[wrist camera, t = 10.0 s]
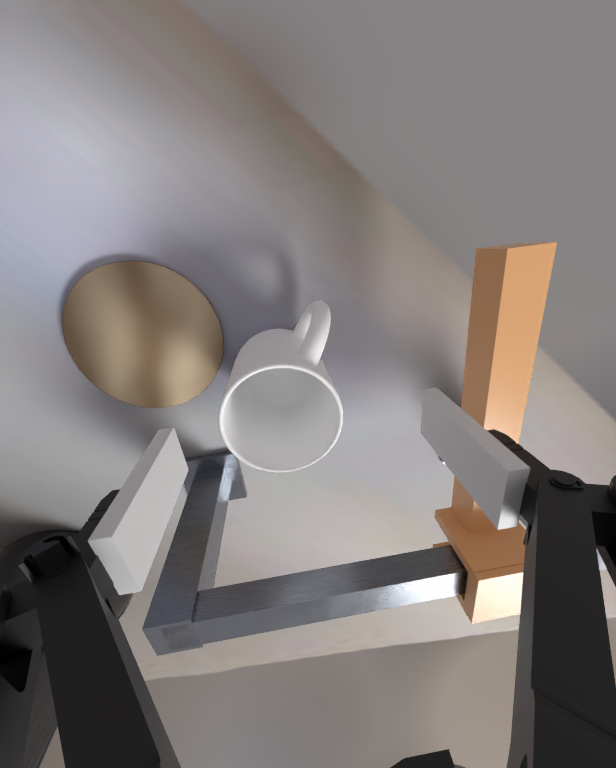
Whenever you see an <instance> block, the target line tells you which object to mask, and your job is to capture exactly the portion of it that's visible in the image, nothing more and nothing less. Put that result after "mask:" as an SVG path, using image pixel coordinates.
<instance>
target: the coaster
mask: <svg viewBox="0 0 616 768" xmlns="http://www.w3.org/2000/svg"><path fill="white" fill-rule="evenodd" d="M62 324H63V334H64V338H65V342H66V345H67V348H68V350H69V353H70V355H71V357H72V359H73V360H74V362H75V364H76V365H77V366H78V368H79V369H80V371H81V372H82V373H83V374H84V375H85V376H86V377H87V378H88V379H89V380H90V381H91V382H92V383H93V384H94V385H95V386H97V387H98V388H99V389H101V390H102V391H103V392H105V393H107V394H108V395H110V396H112V397H114V398H116V399H118V400H120V401H123V402H126V403H129V404H132V405H137V406H141V407H149V408H162V407H170V406H175V405H179V404H181V403H184V402H187V401H189V400H191V399H193V398H194V397H196V396H197V395H199V394H200V393H201V392H202V391H204V390H205V389H206V388H207V387H208V385H209V384H210V383H211V382H212V380H213V379H214V377H215V375H216V373H217V371H218V369H219V366H220V364H221V360H222V356H223V348H224V347H223V334H222V329H221V325H220V322H219V319H218V317H217V315H216V312H215V310H214V309H213V307H212V305H211V304H210V302H209V301H208V300H207V298H206V297H205V296H204V294H203V293H202V292H201V291H200V290H199V289H198V288H197V287H196V286H195V285H194V284H192V283H191V282H190V281H189V280H187V279H186V278H184V277H183V276H181V275H180V274H178V273H176V272H174V271H172V270H170V269H168V268H166V267H163V266H160V265H157V264H153V263H148V262H142V261H122V262H115V263H110V264H106V265H103V266H101V267H98V268H96V269H94V270H92V271H91V272H89V273H87V274H86V275H85V276H84V277H82V278H81V279H80V280H79V281H78V282H77V284H76V285H75V286H74V287H73V289H72V290H71V292H70V294H69V295H68V298H67V300H66V303H65V307H64V311H63V321H62Z"/></svg>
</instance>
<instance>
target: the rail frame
mask: <svg viewBox="0 0 616 768" xmlns="http://www.w3.org/2000/svg"><path fill="white" fill-rule="evenodd" d="M185 460H186V463H187V466H188V469H189V470H188V473H187V475H186V478H185V480H184V483H185V486H186V488H187V491H188V496H187V499H186V502H185V505H184V508H183V511H182V514H181V517H180V520H179V523H178V526H177V529H176V532H175V535H174V537H173V540H172V543H171V546H170V549H169V552H168V555H167V558H166V561H165V564H164V567H163V570H162V573H161V576H160V578H159V581H158V584H157V587H156V590H155V593H154V596H153V599H152V602H151V605H150V608H149V611H148V614H147V616H146V619H145V622H144V625H143V628H142V630H143V632H144V633H145V635H146V637H147V638H148V640H149V642H150V644H151V645H152V647H153V649H154V651H155V652H156V654H157V656H158V655H164V654H169V653H174V652H179V651H184V650H190V649H195V648H200V647H203V644H206V643H212V642H217V641H222V640H227V639H232V638H237V637H243V636H248V635H253V634H258V633H263V632H269V631H274V630H279V629H284V628H289V627H295V626H300V625H305V624H310V623H315V622H321V621H326V620H331V619H336V618H341V617H347V616H352V615H357V614H362V613H367V612H373V611H378V610H383V609H388V608H393V607H399V606H404V605H409V604H414V603H419V602H425V601H430V600H435V599H440V598H445V597H451V596H456V595H461V594H465V592H466V585H467V578H468V572H467V570H466V568H465V567H464V565H463V563H462V562H461V560H460V558H459V557H458V555H457V554H456V552H455V550H454V549H453V547H452V545H447V546H441V547H436V548H430V549H425V550H419V551H414V552H409V553H403V554H398V555H392V556H387V557H381V558H376V559H370V560H365V561H359V562H354V563H349V564H343V565H338V566H332V567H327V568H321V569H316V570H310V571H305V572H300V573H294V574H289V575H283V576H278V577H272V578H267V579H261V580H256V581H251V582H245V583H240V584H234V585H229V586H223V587H218V588H213V586H214V580H215V574H216V569H217V563H218V557H219V551H220V546H221V540H222V534H223V528H224V523H225V517H226V511H227V505H228V500H233V499H239V498H245V497H247V492H246V488H245V484H244V480H243V476H242V473H241V469H240V465H239V461H238V458H237V457H235V456H234V455H233V454H232V453H231V451H229V452H223V453H217V454H211V455H205V456H198V457H192V458H186V459H185ZM441 461H442V463H443V464H445V463H444V462H443V460H442V459H441ZM519 519H520V520H521V521H522V523H523V524H524V525H525V526H526V527H527V525H528V522H527V521H526V520H525V519H524V518H523V517H522V516H521V515H520V517H519ZM596 549H597V548H596ZM597 556H598V563H599V570H604V569H607V568H606V566H605V564H604V562H603V560H602V558H601V556H600V554H599V552H598V550H597Z"/></svg>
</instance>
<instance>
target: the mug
mask: <svg viewBox="0 0 616 768" xmlns="http://www.w3.org/2000/svg"><path fill="white" fill-rule="evenodd" d="M330 322H331V314H330V308H329V306H328V305H327V303H326V302H324V301H322V300H315V301H313V302H312V303H310V304H309V305H308V306H307V308H306V309H305V311H304V312H303V314H302V316H301V317H300V319H299V321H298V323H297V325H296V327H295V329H294V331H292V330H288V329H269V330H265V331H262V332H260V333H258V334H256V335H254V336H253V337H251V338H250V339H249V340H248V341H247V342H246V343H245V344H244V345H243V346H242V348H241V349H240V351H239V353H238V355H237V357H236V360H235V362H234V365H233V368H232V371H231V374H230V377H229V380H228V383H227V386H226V390H225V393H224V396H223V399H222V402H221V405H220V408H219V414H218V424H219V430H220V433H221V436H222V439H223V441H224V443H225V444H226V446H227V448H228V449H229V450H230V451H231V453H232V454H233V455H234V456H235V457H237V458H238V459H239V460H240V461H242V462H243V463H245V464H247V465H249V466H251V467H253V468H256V469H259V470H262V471H268V472H279V473H280V472H291V471H296V470H299V469H303V468H305V467H308V466H310V465H312V464H314V463H315V462H317V461H318V460H320V459H321V458H322V457H324V456H325V455H326V454H327V453H328V452H329V451H330V450H331V448H332V447H333V446H334V444H335V443H336V441H337V439H338V437H339V434H340V432H341V428H342V424H343V409H342V404H341V401H340V398H339V396H338V394H337V391H336V389H335V387H334V385H333V383H332V380H331V378H330V376H329V374H328V372H327V370H326V367H325V365H324V363H323V361H322V359H321V355H322V352H323V350H324V347H325V344H326V341H327V337H328V333H329V329H330Z"/></svg>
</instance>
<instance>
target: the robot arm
mask: <svg viewBox="0 0 616 768" xmlns="http://www.w3.org/2000/svg"><path fill="white" fill-rule="evenodd" d="M421 434H422V435H423V436H424V438H425V439H426V440H427V441H428V443H429V444H430V445H431V446H432V448H433V449H434V450H435V451H436V453H437V454H438V455H439V457H440V458H441V459H442V460H443V462H444V463H445V464H446V465H447V467H448V468H449V469H450V470H451V472H452V473H453V474H454V475H455V477H456V478H457V479H458V481H459V482H460V483H461V484H462V486H463V487H464V488H465V489H466V491H467V492H468V493H469V494H470V496H471V497H472V498H473V499H474V501H475V502H476V503H477V505H478V506H479V507H480V508H481V510H482V511H483V512H484V513H485V515H486V516H487V517H488V518H489V520H490V521H491V522H492V524H493V525H494V526H495V527H496V529H497V530H500V529H506V528H512V527H517V526H518V521H519V517H520V515H521V516H522V517H523V518H524V519H525V520H526V521H527V522H528V525H527V529H526V534H525V538H524V542H523V544H524V545H525V556H524V570H523V583H522V597H521V610H520V624H519V639H518V651H517V666H516V678H515V693H514V705H513V720H512V732H511V744H510V751H509V757H508V763H507V768H616V686H615V679H614V671H613V664H612V657H611V650H610V644H609V643H610V642H609V635H608V628H607V621H606V614H605V606H604V599H603V592H602V585H601V577H600V570H599V563H598V556H597V550H598V552H599V554H600V556H601V558H602V560H603V562H604V564H605V566H606V568H607V570H608V572H609V574H610V576H611V578H612V580H613V582H614V584H615V586H616V476H614V477H613V478H612V480H611V483H610V485H596V484H585V483H584V482H583V481H582V480H581V479H580V478H578V477H576V476H574V475H572V474H570V473H567V472H563V471H558V470H550V469H549V468H548V467H546V466H545V465H544V464H543V463H541V462H540V461H539V460H538V459H536V458H535V457H534V456H533V455H531V454H530V453H529V452H528V451H526V450H524V449H523V447H522V446H520V445H519V444H516V442H515V441H514V440H513V439H512V438H510V437H509V436H508V435H506V434H504V433H502V432H500V431H498V430H495V429H492V430H486V429H485V428H483V427H482V426H481V425H480V424H479V423H478V422H476V421H475V420H474V419H473V418H472V417H471V416H469V415H468V414H467V413H466V412H465V411H464V410H462V409H461V408H460V407H459V406H458V405H457V404H455V403H454V402H453V401H452V400H451V399H450V398H448V397H447V396H446V395H445V394H444V393H443V392H441V391H440V390H439V389H438V388H437V387H435V388H428V389H423V391H422V417H421ZM188 470H189V469H188V466H187V463H186V460H185V457H184V454H183V452H182V449H181V446H180V443H179V440H178V437H177V434H176V431H175V429H174V427H171V428H164V429H159V430H158V432H157V433H156V435H155V436H154V438H153V439H152V441H151V443H150V444H149V446H148V447H147V449H146V450H145V452H144V453H143V455H142V457H141V458H140V460H139V461H138V463H137V464H136V466H135V467H134V469H133V471H132V472H131V474H130V475H129V477H128V478H127V480H126V482H125V483H124V485H123V486H122V488H121V489H119V490H113V491H111V492H110V493H109V494H108V495H107V496H106V497H105V498H103V499H102V500H101V502H100V503H99V504H98V506H97V507H96V509H95V510H94V513H92V515H91V516H90V517H89V519H88V521H87V522H86V523H85V525H84V526H83V528H82V529H81V531H80V532H79V533H74V532H64V531H52V532H42V533H37V534H33V535H29V536H26V537H24V538H21V539H19V540H17V541H15V542H14V543H12V544H11V545H9V546H8V547H7V548H6V549H5V550H4V551H3V552H2V554H1V555H0V768H40V765H41V763H42V761H43V758H44V756H45V754H46V752H47V750H48V747H49V745H50V743H51V740H52V738H53V736H54V733H55V731H56V729H57V727H58V729H59V735H60V740H61V746H62V751H63V757H64V762H65V768H181V767H180V764H179V762H178V760H177V757H176V755H175V753H174V750H173V748H172V745H171V743H170V741H169V739H168V736H167V734H166V731H165V729H164V727H163V724H162V722H161V719H160V717H159V715H158V712H157V710H156V708H155V705H154V703H153V700H152V698H151V696H150V693H149V691H148V689H147V686H146V684H145V681H144V679H143V677H142V674H141V672H140V670H139V667H138V665H137V662H136V660H135V658H134V655H133V653H132V651H131V648H130V646H129V644H128V641H127V639H126V636H125V634H124V632H123V629H122V627H121V625H120V622H119V620H118V619H119V618H120V617H121V616H122V615H123V613H124V612H125V610H126V609H127V607H128V605H129V602H130V600H131V597H132V595H133V593H135V592H141V591H142V588H143V586H144V583H145V581H146V578H147V575H148V573H149V570H150V568H151V565H152V563H153V560H154V557H155V555H156V552H157V550H158V547H159V545H160V542H161V539H162V537H163V534H164V532H165V529H166V527H167V524H168V521H169V519H170V516H171V514H172V511H173V509H174V506H175V504H176V501H177V498H178V496H179V493H180V491H181V488H182V486H183V483H184V480H185V478H186V475H187V473H188ZM596 548H597V549H596ZM391 768H465V767H463V766H459V765H454V764H453V761H452V758H451V755H450V752H449V749H448V750H443V751H438V752H433V753H428V754H424V755H418V756H413V757H409V758H405V759H403V760H401V761H400V762H398V763H397V764H395V765H394V766H392V767H391Z"/></svg>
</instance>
